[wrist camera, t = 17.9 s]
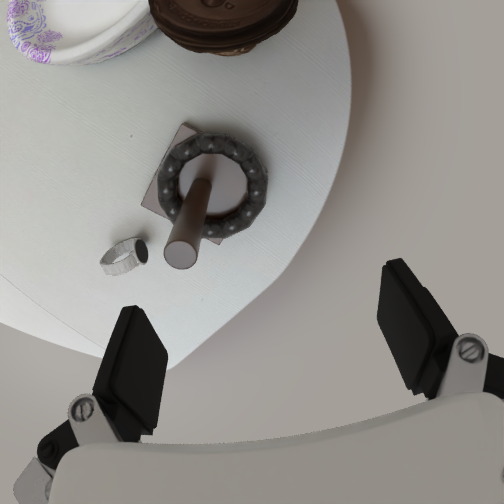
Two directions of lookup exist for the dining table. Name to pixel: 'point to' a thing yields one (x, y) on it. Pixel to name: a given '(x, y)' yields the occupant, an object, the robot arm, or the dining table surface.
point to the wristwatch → (129, 262)
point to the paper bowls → (77, 29)
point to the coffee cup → (221, 23)
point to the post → (198, 199)
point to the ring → (232, 151)
